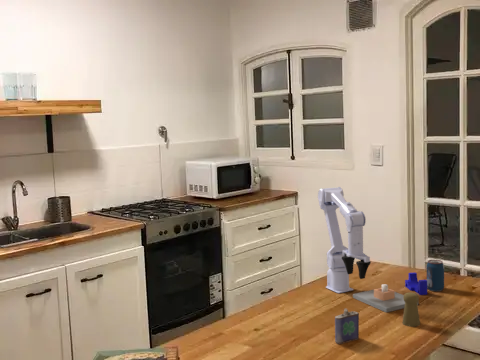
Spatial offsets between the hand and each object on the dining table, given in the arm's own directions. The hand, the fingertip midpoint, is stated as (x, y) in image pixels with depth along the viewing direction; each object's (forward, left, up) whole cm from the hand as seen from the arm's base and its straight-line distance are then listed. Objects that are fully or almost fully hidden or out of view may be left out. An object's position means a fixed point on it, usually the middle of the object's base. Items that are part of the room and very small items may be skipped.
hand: (356, 276), depth 220 cm
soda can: (+6, +36, -11) cm, 38 cm away
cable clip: (+2, +29, -11) cm, 31 cm away
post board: (+6, +9, -10) cm, 15 cm away
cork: (+29, +1, -11) cm, 31 cm away
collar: (+6, +9, -9) cm, 14 cm away
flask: (+29, -27, -11) cm, 41 cm away
